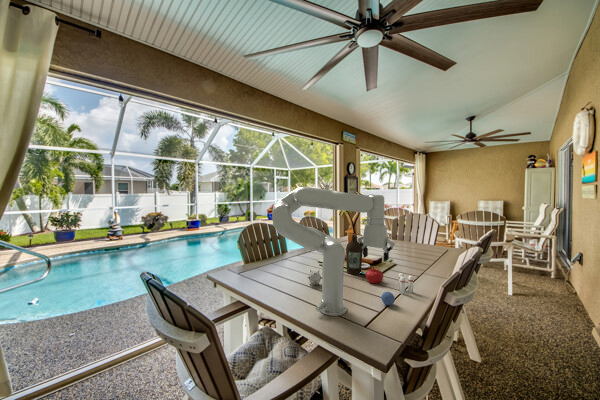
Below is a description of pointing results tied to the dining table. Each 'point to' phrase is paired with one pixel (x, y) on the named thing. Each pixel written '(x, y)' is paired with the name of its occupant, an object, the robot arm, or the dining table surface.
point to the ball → (388, 298)
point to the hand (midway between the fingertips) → (375, 258)
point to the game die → (314, 277)
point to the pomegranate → (374, 276)
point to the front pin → (402, 285)
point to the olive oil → (354, 256)
